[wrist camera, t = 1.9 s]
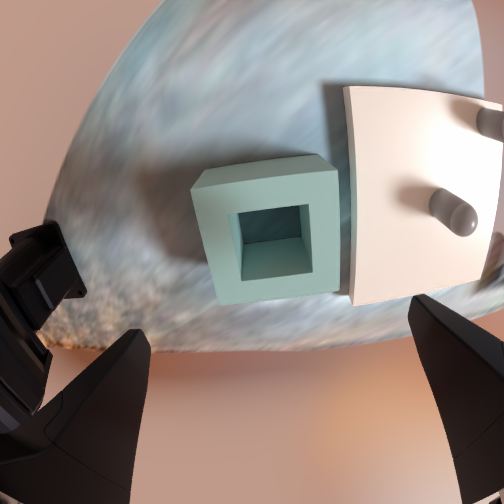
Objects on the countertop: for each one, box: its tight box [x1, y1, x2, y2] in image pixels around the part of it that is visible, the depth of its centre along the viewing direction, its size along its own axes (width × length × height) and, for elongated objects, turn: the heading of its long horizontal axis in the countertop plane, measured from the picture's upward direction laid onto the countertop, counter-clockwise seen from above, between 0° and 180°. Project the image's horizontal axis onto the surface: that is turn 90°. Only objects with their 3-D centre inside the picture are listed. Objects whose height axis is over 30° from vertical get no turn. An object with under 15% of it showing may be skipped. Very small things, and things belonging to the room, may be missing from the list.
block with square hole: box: [190, 154, 340, 306], centre depth 15 cm, size 6×6×4 cm
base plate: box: [343, 86, 504, 306], centre depth 14 cm, size 12×14×5 cm
